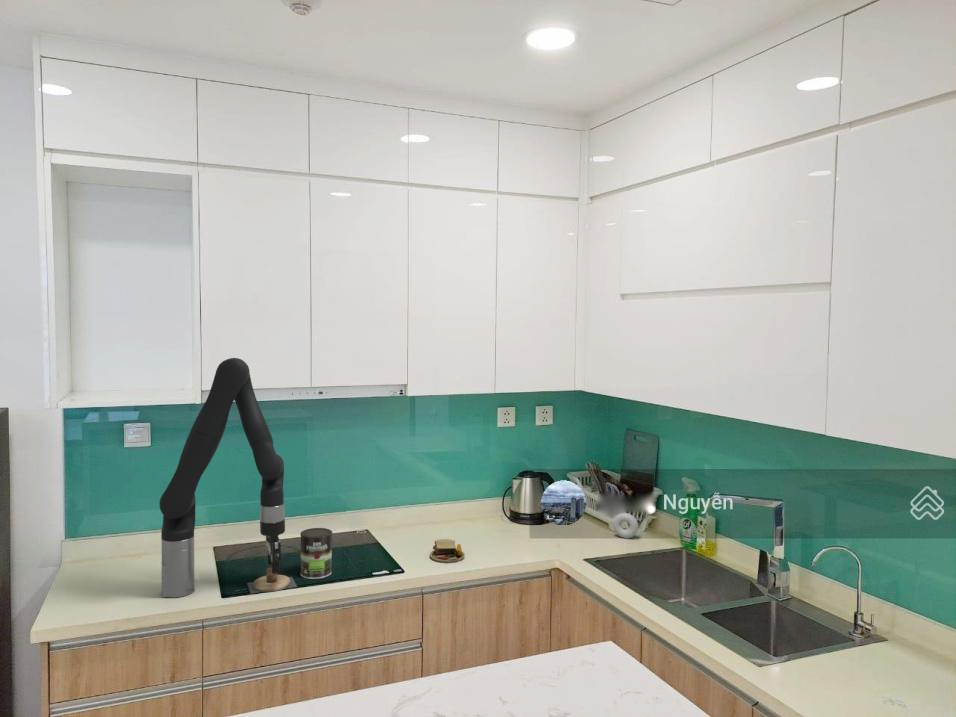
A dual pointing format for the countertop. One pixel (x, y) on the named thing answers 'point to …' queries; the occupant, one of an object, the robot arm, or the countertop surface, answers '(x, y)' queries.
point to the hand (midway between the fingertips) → (273, 568)
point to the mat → (253, 590)
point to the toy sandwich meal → (446, 551)
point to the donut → (625, 518)
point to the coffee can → (316, 553)
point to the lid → (271, 582)
